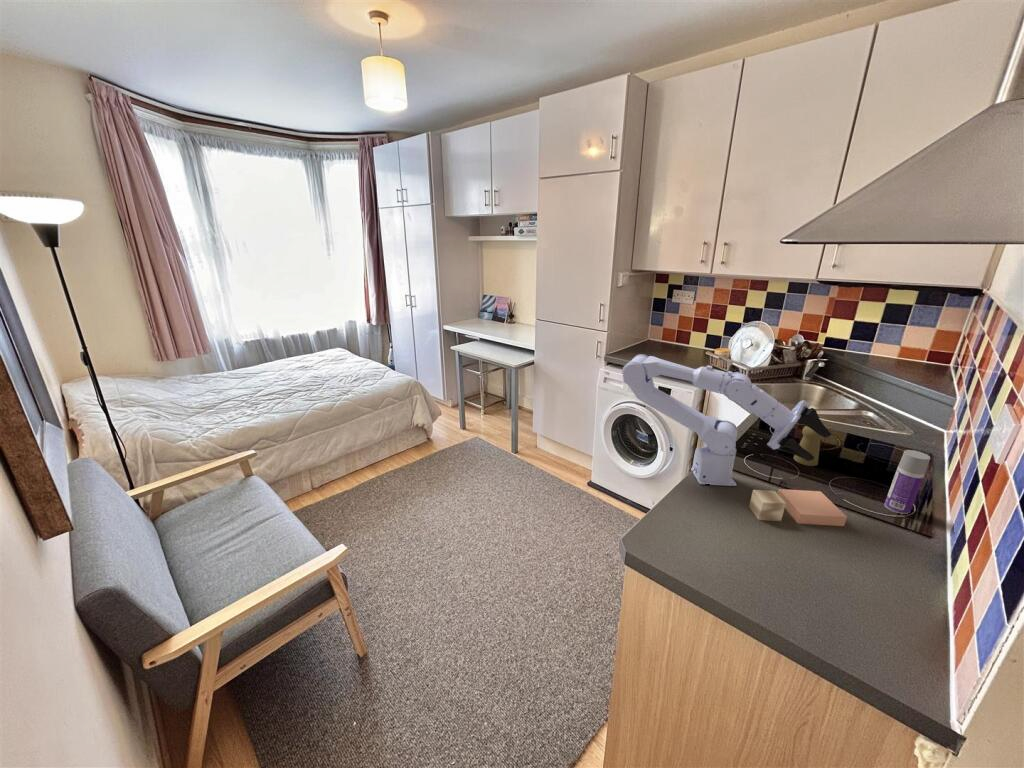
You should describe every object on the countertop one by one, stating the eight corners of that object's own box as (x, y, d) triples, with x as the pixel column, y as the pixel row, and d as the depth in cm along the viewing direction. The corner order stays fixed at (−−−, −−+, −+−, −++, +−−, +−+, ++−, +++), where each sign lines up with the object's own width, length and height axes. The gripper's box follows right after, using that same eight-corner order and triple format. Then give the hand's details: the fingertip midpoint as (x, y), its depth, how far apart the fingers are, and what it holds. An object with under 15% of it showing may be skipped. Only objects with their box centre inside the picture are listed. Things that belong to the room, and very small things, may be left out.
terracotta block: (797, 524, 95) (800, 514, 94) (775, 498, 104) (778, 488, 103) (843, 527, 94) (847, 517, 93) (817, 501, 103) (820, 491, 102)
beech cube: (758, 520, 96) (762, 502, 94) (749, 506, 100) (753, 489, 99) (780, 521, 95) (785, 503, 94) (770, 508, 100) (774, 490, 98)
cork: (810, 456, 124) (819, 423, 120) (822, 466, 118) (832, 432, 114) (789, 455, 124) (797, 422, 120) (800, 465, 118) (809, 431, 115)
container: (915, 514, 97) (937, 459, 92) (895, 514, 97) (916, 459, 92) (897, 502, 102) (917, 449, 97) (878, 502, 102) (898, 449, 97)
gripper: (761, 428, 95) (814, 468, 92) (795, 384, 98) (847, 421, 95) (746, 434, 102) (795, 471, 99) (778, 393, 105) (826, 428, 102)
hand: (819, 447), depth 97 cm, fingers open, 7 cm apart
